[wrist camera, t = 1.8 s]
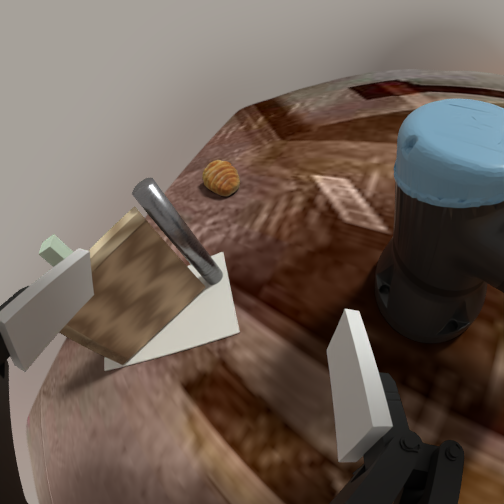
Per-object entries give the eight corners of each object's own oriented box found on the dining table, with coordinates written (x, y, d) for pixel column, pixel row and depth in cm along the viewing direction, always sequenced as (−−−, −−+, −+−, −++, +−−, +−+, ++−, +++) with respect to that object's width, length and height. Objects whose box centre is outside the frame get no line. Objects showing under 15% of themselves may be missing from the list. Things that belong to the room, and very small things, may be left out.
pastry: (250, 185, 54) (243, 170, 51) (221, 205, 53) (212, 190, 50) (229, 166, 60) (222, 153, 57) (202, 184, 59) (194, 171, 56)
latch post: (125, 295, 48) (54, 234, 34) (125, 306, 46) (50, 246, 33) (113, 300, 48) (42, 242, 34) (113, 311, 47) (38, 254, 33)
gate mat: (223, 252, 46) (222, 251, 46) (239, 332, 37) (239, 332, 36) (108, 300, 49) (107, 299, 48) (105, 371, 40) (104, 370, 39)
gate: (200, 281, 43) (134, 206, 30) (205, 287, 42) (139, 211, 29) (119, 357, 39) (35, 310, 27) (122, 365, 38) (36, 318, 26)
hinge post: (222, 266, 44) (154, 174, 30) (225, 281, 42) (152, 188, 28) (205, 273, 44) (133, 185, 30) (208, 288, 43) (131, 200, 28)
